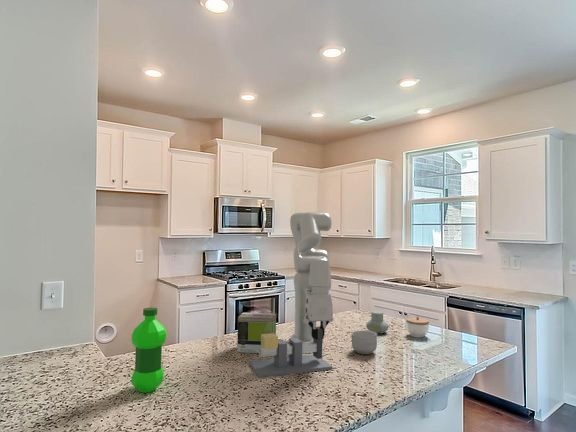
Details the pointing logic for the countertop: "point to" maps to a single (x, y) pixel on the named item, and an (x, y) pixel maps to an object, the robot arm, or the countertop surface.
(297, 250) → the robot arm
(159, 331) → the plastic bottle
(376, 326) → the air freshener
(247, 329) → the tea box
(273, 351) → the shaft
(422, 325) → the lidded jar
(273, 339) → the block
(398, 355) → the countertop surface
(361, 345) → the teacup
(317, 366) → the bracket
